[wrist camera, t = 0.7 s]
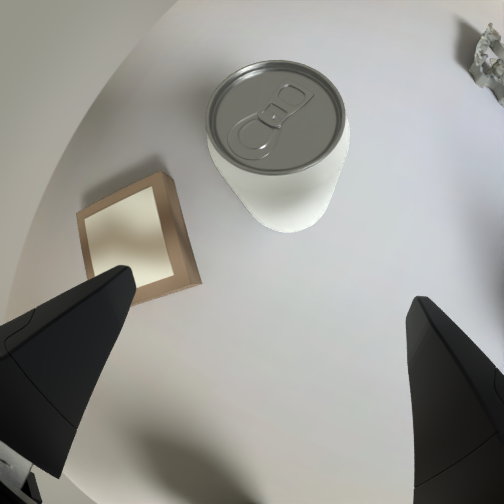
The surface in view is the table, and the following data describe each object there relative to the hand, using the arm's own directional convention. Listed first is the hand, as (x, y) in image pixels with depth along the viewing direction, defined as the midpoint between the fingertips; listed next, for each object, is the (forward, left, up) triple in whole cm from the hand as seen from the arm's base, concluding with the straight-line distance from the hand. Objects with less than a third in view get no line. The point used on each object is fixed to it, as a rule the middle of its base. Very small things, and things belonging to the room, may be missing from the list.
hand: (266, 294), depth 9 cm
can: (+5, +5, -14) cm, 15 cm away
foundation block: (-7, +10, -14) cm, 18 cm away
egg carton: (+35, 0, -14) cm, 37 cm away
